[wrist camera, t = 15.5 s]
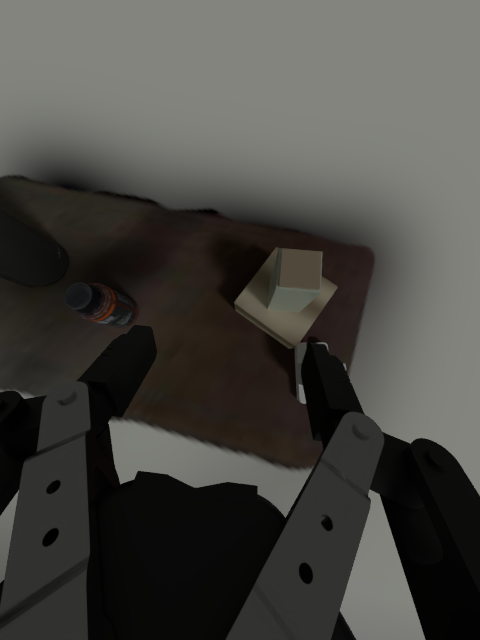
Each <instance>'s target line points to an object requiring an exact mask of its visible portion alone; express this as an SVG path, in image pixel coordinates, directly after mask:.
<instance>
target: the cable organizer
mask: <svg viewBox="0 0 480 640" xmlns="http://www.w3.org/2000/svg"><path fill="white" fill-rule="evenodd" d="M317 344H325V345H326V347H327V349H328V345H327V344H326V343H317ZM306 349H307V347H306V343H299V344H298V345H297V347H295V348H294V350H295V371H296V392H297V399H298V400H299V401H300V402H301V403H304V404H306V400H305V394H304V389H303V384H302V379H301V365H302V361H303V358H304V355H305V352H306ZM343 365H344V367H345V370H346V364H343Z"/></svg>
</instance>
